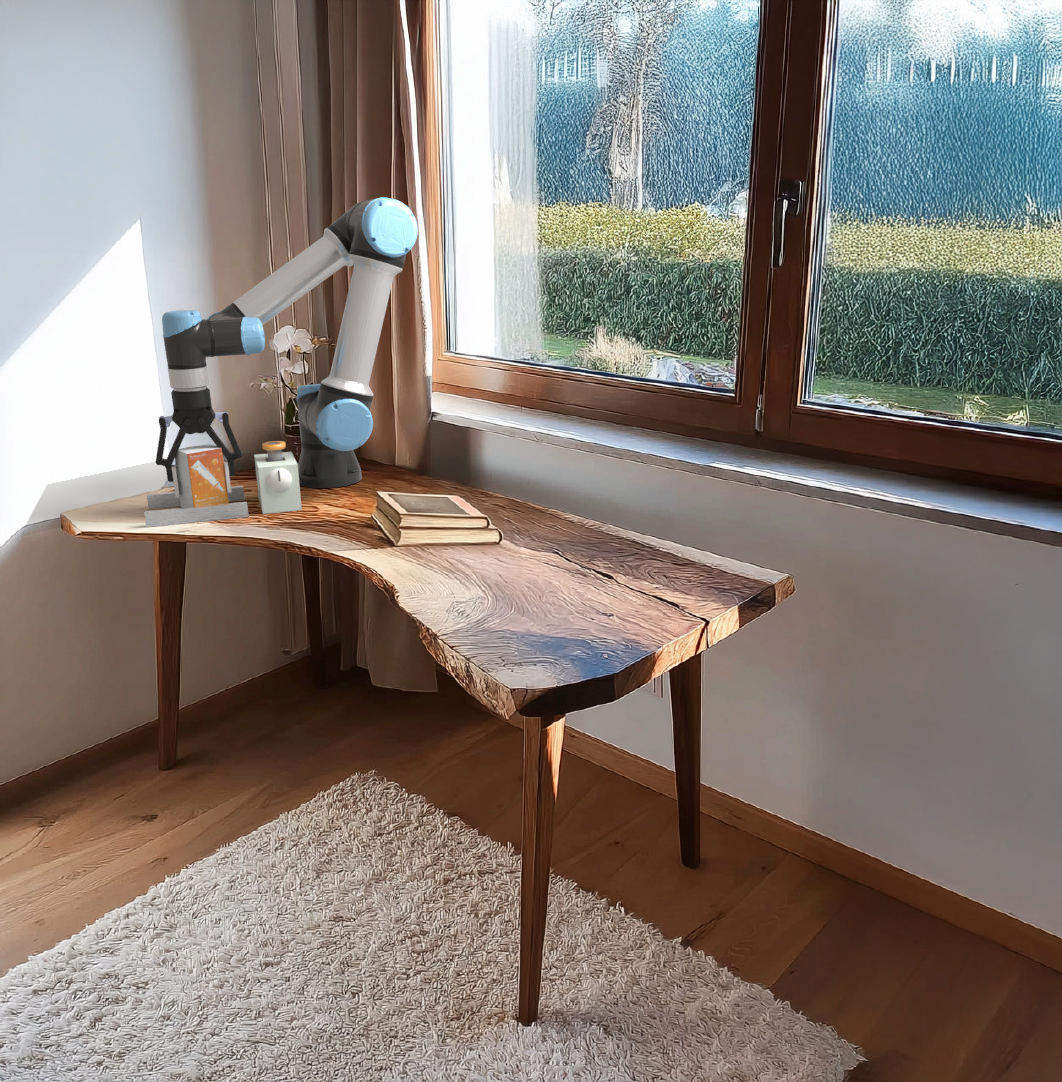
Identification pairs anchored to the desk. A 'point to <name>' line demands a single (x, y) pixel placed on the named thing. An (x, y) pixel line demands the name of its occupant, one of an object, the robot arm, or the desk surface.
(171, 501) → the guide rails
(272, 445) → the button
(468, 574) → the desk surface
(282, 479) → the gauge cabinet
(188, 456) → the small box
